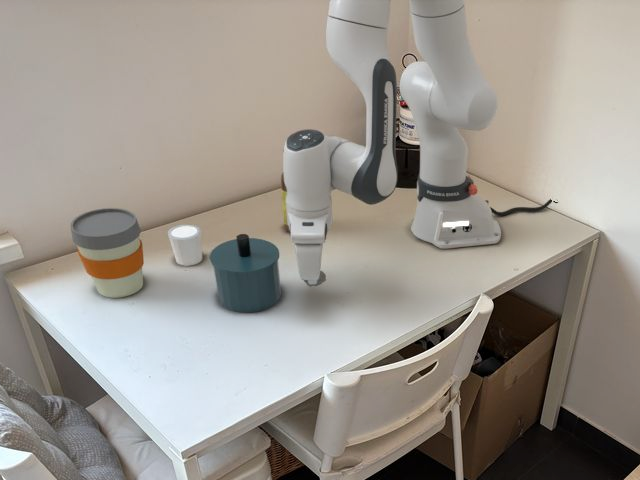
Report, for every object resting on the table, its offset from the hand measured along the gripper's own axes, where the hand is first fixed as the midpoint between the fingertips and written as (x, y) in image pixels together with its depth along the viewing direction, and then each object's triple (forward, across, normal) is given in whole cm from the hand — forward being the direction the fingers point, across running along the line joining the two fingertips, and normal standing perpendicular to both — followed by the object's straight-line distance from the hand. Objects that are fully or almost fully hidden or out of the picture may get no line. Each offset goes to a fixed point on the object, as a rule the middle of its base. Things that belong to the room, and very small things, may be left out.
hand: (313, 275), depth 148 cm
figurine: (+2, 0, 0) cm, 2 cm away
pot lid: (-4, 0, -13) cm, 14 cm away
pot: (+5, 0, -13) cm, 14 cm away
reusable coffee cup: (+5, -4, -40) cm, 41 cm away
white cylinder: (+5, -15, -28) cm, 33 cm away
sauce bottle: (+5, -30, -5) cm, 31 cm away
